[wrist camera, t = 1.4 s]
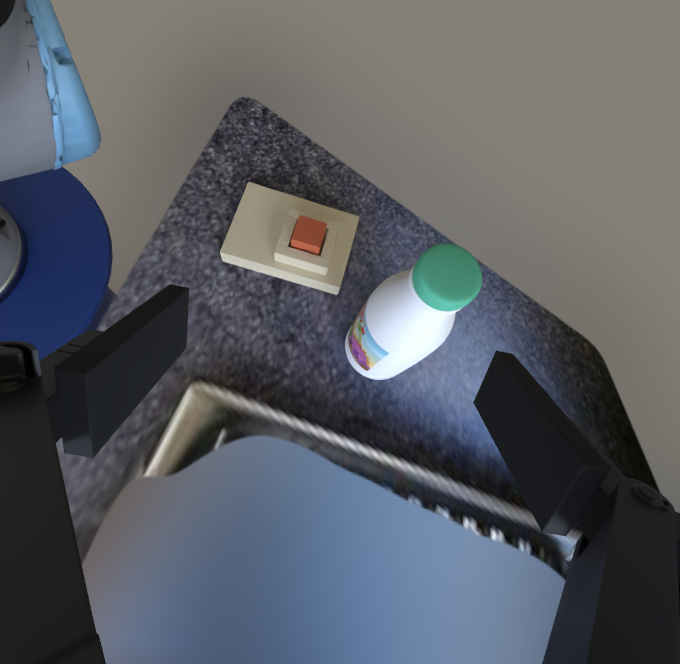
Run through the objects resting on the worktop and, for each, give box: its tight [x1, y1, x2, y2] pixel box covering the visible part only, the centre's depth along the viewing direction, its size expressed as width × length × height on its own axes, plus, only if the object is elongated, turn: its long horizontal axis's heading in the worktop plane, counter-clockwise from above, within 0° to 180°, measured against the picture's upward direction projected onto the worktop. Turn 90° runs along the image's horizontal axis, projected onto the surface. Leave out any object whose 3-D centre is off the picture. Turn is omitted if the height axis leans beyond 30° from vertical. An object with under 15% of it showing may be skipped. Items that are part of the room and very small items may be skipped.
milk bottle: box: [345, 243, 482, 380], centre depth 34 cm, size 8×8×20 cm
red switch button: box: [291, 215, 327, 255], centre depth 42 cm, size 3×3×2 cm
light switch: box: [220, 182, 359, 295], centre depth 44 cm, size 14×10×4 cm
